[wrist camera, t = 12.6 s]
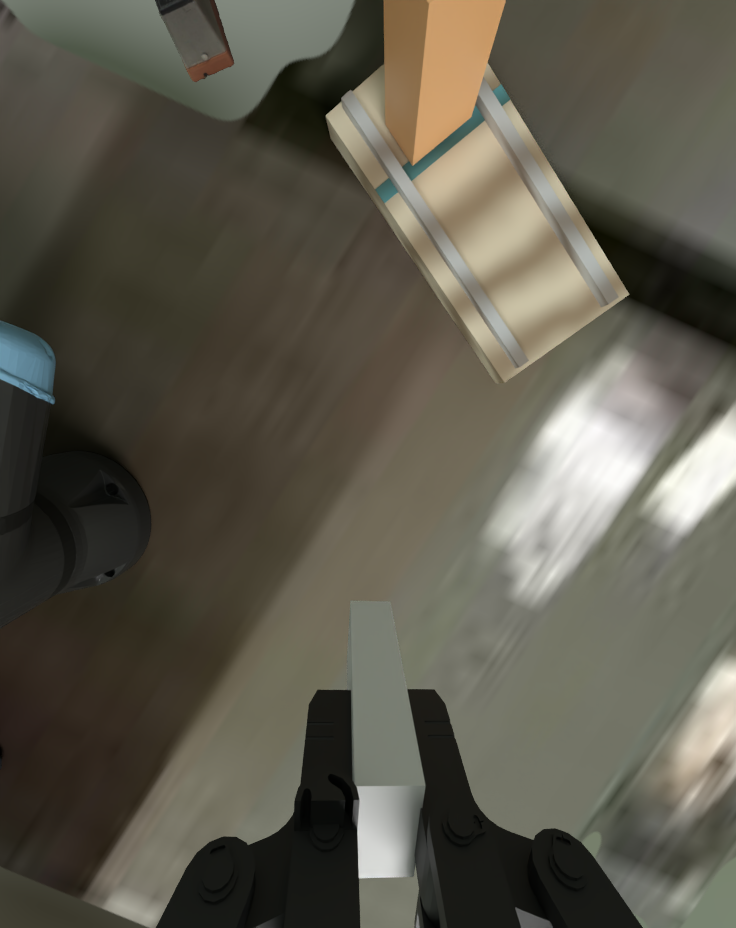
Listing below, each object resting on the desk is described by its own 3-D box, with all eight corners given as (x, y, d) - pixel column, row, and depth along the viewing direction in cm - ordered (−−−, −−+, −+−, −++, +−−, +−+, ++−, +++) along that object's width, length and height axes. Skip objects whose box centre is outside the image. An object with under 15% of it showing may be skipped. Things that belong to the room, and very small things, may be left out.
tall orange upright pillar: (471, 117, 33) (531, -89, 19) (412, 166, 33) (428, 3, 20) (444, 73, 32) (485, -170, 18) (385, 124, 33) (382, -72, 19)
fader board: (610, 302, 38) (637, 290, 33) (495, 383, 39) (508, 382, 35) (446, 37, 35) (453, -12, 30) (330, 138, 36) (323, 105, 32)
